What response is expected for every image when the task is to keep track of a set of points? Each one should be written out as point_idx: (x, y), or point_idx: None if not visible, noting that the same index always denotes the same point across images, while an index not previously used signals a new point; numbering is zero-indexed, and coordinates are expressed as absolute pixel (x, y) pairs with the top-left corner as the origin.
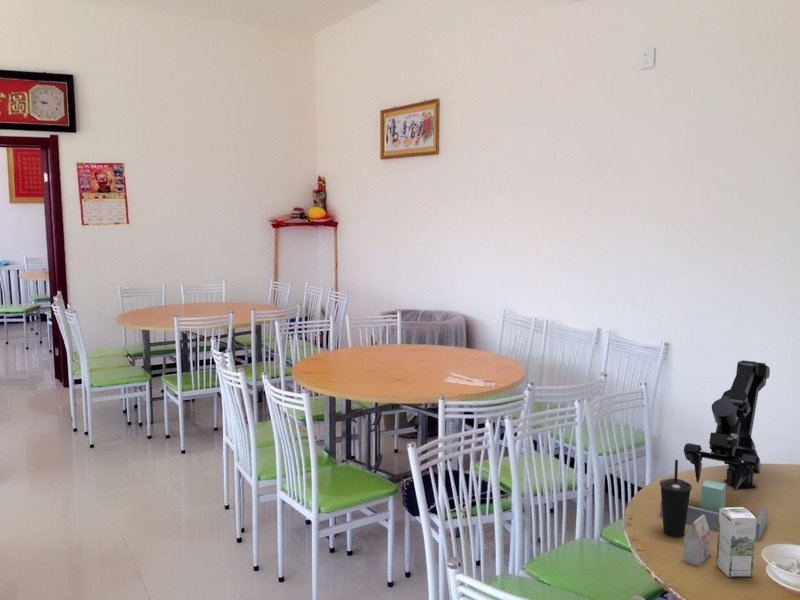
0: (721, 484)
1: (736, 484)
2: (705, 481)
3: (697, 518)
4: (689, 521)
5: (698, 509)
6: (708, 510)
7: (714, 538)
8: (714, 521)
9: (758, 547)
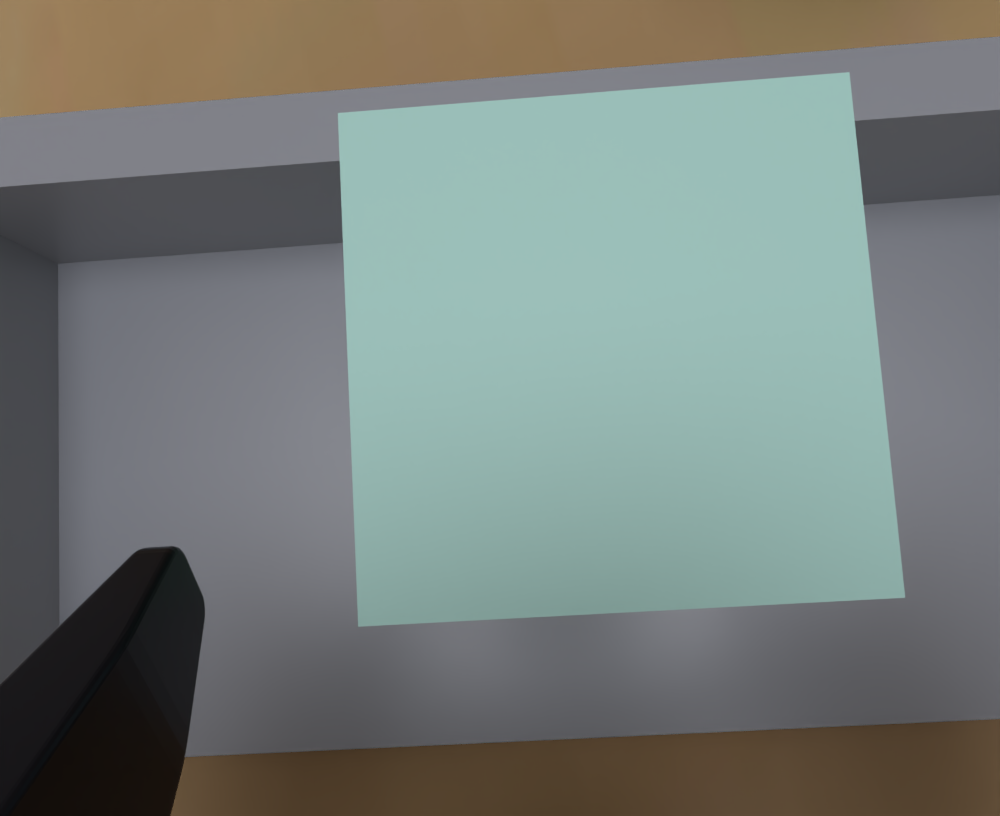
0: (455, 501)
1: (69, 625)
2: (875, 443)
3: None
4: None
5: (715, 71)
6: None
7: (436, 32)
8: None
9: None
